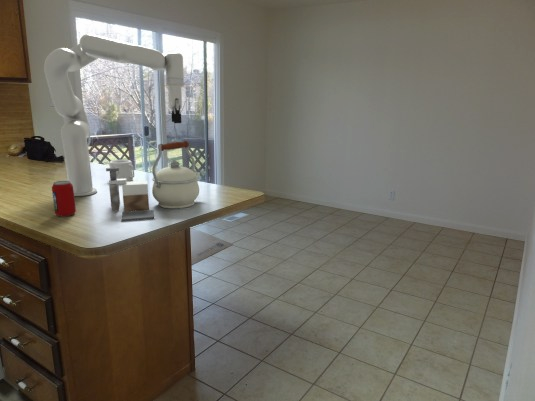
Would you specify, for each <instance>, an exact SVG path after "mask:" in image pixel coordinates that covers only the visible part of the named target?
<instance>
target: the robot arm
mask: <svg viewBox="0 0 535 401" xmlns="http://www.w3.org/2000/svg"><path fill="white" fill-rule="evenodd" d="M98 59H100V60H106V61H111V62H114V63H119V64H133V65H137V66H141V67H142V66H143V67H146V68H150V69H151V70H153V71H165V82H166V83H165V84H166V85H165V86H166V87H168V109H169V110H171V114H170V115H171V122H172V123H174V124H181V123H182V113H181V112H182V111H181V110H182V109H183V108H182V102H183V100H182V98H183V97H182V87H185V83H184V79H185V77H184V56H183V55H182V54H181V53H179V52H168V53H167V52H166V53H162V52H161V51H160V50H157V49H154V48H151V47H147V46H142V45H138V44H133V43H128V42H126V41H121V40H117V39H112V38H108V37H105V36H100V35H97V34H91V33H86V34H83V35H82V36H81V37H80V39H79V42H78V44H76V45H75V46H73V47H71V48H67V47H66V48H65V47H59V48H56V49H54V50H52V51H51V52H50V53H48V55H47V56H46V58H45V61H44V65H43V69H44V70H43V71H44V76H45V79H46V82H47V86H48V89H49V94H50V96H51V99H52V103H53V107H54V110H55V112H56V113H57V114H58V115H59V116H61V117H62V120H63V125H62V126H61V128H60V138H61V142H62V146H63V154H64V160H65V167H66V168H65V170H66V175H67V181H70V183H71V184H72V185H73V190H74V197H85V196H92V195H94V194H96V193H97V191H98V190H97V188H95V187H93V178H92V177H93V176H92V169H91V160H90V151H89V145H88V137H89V136H90V134H91V127H90V124H89V120H88V117H87V114H86V111H85V108H84V104H83V103H82V102H83V101H81V99H80V98H79V97H77V96H76V95H75V92H74V90H73V86H72V82H71V80H70V77H69V72H71V73H73V72H77V71H79V70H81V69H82V68H85V67H86V66H87V65H89V64H91V63H93V62H94V61H96V60H98Z"/></svg>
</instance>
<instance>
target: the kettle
mask: <svg viewBox="0 0 535 401" xmlns="http://www.w3.org/2000/svg"><path fill="white" fill-rule="evenodd" d="M181 148H185V152H186V154H187V155H188V156H189V158H190V160H191V164H192V165H191V169H190V168H189V167H186V166H181V163H180V162H179V161H178V160H176V159H174V160H173V161H171V162H170V163H169V165H170V166H165V167H164V168H163V167H162V168H160V169H159V170H157V165H158V163H159V161H160V159H161V157H162V152H163V151H164V150H167V151H169V150H178V149H181ZM157 149H158V155H157V157H156V159H155V160H154V163H153V165H152V169H151V170H152V179H151V180H152V181H153V184H152V188H151V189H152V191H151V192H152V196H153V198H154V199H155V201H157V202H158V206H159V207H161V208H164V209H170V210H176V209H177V210H178V208H179V209H186V208H189V207H192V206H194V205H195V200H196V199H198V197H199V195H200V186H199V178H200V175H201V172H198V171H196V172H195V168H196V160H195V158H194V157H193V155H192V154H191V152H190V150H189V149H190V148H189V141H187V140H184V141H175V142H168V143H164V144H163V143H159V144H157ZM156 170H157V172H156Z"/></svg>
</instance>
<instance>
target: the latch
mask: <svg viewBox="0 0 535 401" xmlns="http://www.w3.org/2000/svg"><path fill="white" fill-rule="evenodd" d="M116 171H119V168H110V167H107V168H105V172H109V179H108V183H109V184H108V186H109V185H110V184H118V185H122V184H127V179H126V178H125V179H117V178H116Z"/></svg>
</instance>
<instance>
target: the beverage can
mask: <svg viewBox="0 0 535 401" xmlns="http://www.w3.org/2000/svg"><path fill="white" fill-rule="evenodd" d="M51 191H52V201H53V208H54V214H55V215H56V216H58V217H69V216H73V215H74V214H75V213H76V212H77V209H76V200H75V196H74V190H73V185H72V184H71V183H70V181H68V180H59V181H58V180H57V181H54V182H53V183H52V186H51Z"/></svg>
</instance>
